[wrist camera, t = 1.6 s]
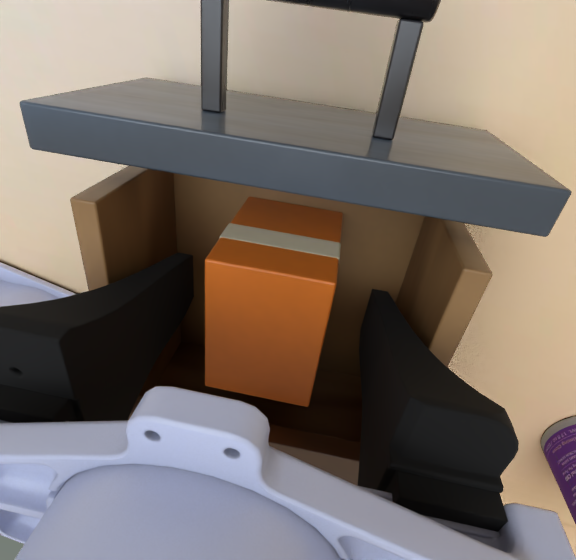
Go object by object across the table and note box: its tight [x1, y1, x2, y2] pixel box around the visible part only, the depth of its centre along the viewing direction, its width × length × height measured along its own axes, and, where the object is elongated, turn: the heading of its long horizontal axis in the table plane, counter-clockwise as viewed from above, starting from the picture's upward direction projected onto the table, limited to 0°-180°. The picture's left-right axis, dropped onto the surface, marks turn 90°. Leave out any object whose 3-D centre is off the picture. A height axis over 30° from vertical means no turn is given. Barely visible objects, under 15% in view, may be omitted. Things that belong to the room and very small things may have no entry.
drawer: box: [20, 0, 571, 443], centre depth 14 cm, size 18×13×7 cm
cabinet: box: [128, 396, 360, 486], centre depth 21 cm, size 15×15×9 cm
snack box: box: [205, 197, 343, 407], centre depth 15 cm, size 6×4×6 cm
